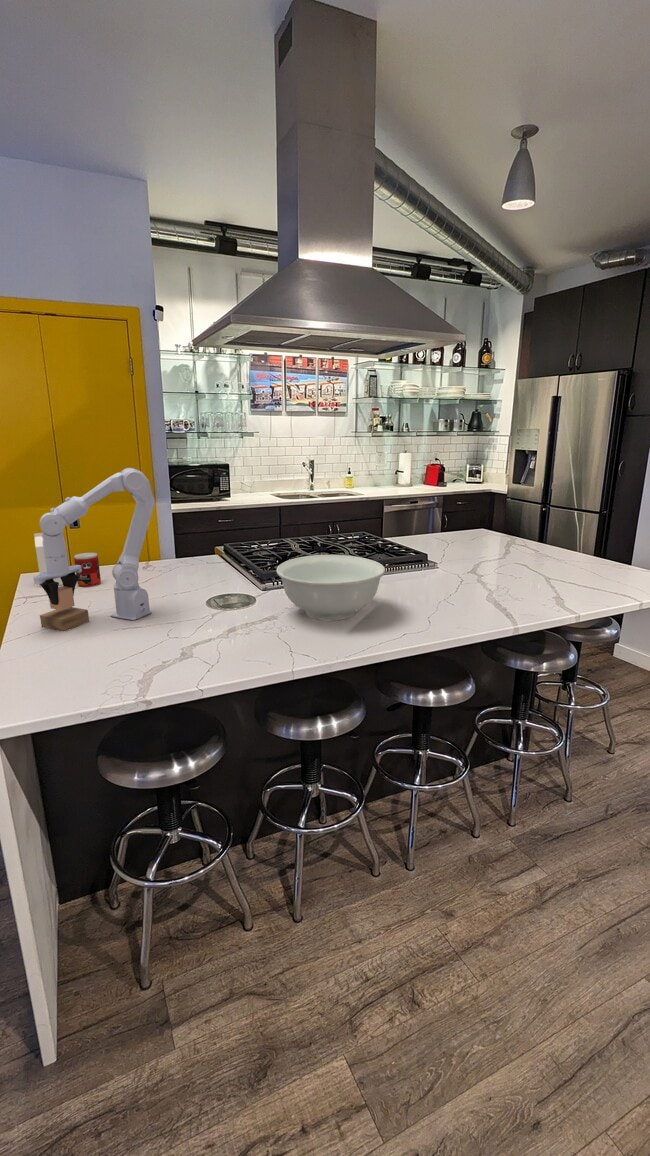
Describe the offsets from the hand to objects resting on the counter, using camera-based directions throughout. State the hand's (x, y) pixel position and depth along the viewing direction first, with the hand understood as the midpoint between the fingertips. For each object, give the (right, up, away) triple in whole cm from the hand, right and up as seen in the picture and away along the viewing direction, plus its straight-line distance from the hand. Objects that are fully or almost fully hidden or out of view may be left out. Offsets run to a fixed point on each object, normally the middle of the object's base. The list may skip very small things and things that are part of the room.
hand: (62, 601), depth 159 cm
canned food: (-10, +4, +43) cm, 44 cm away
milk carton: (-24, +4, +43) cm, 50 cm away
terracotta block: (0, -2, +1) cm, 2 cm away
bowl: (+78, -4, +10) cm, 78 cm away
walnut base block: (0, -7, +2) cm, 7 cm away
